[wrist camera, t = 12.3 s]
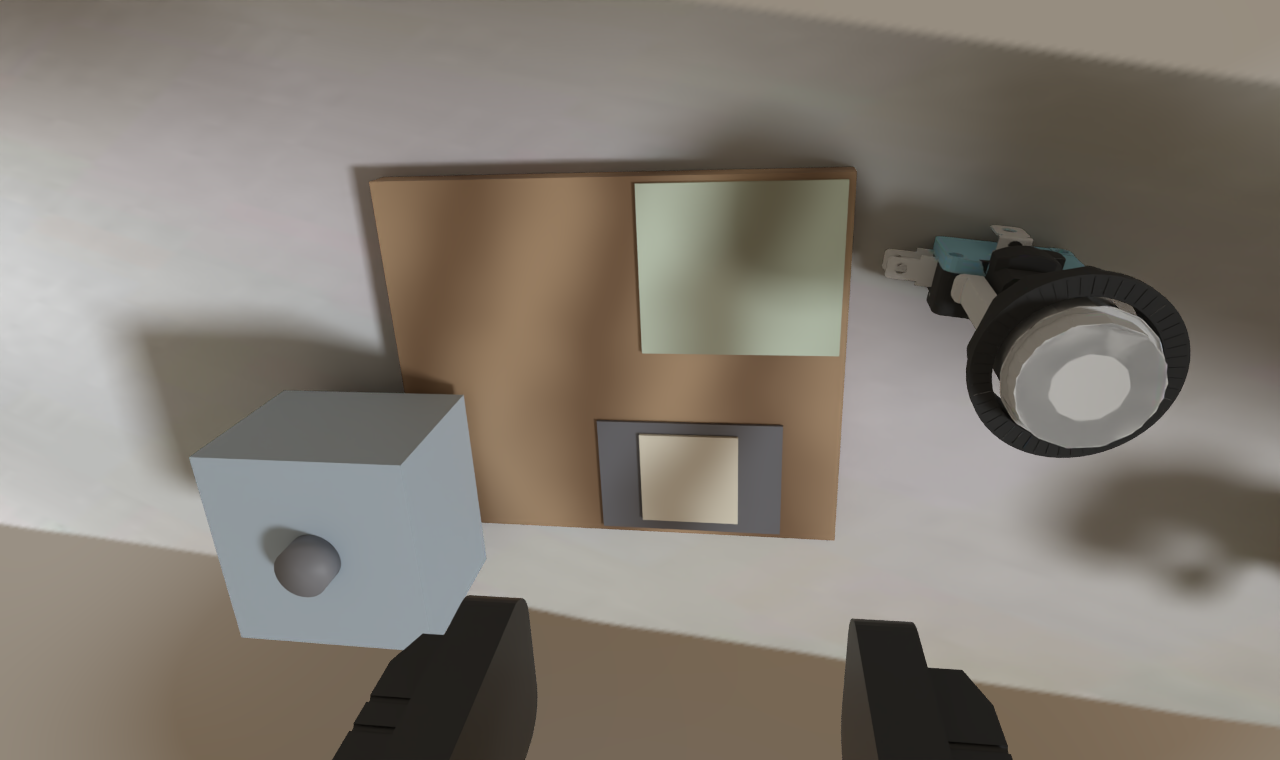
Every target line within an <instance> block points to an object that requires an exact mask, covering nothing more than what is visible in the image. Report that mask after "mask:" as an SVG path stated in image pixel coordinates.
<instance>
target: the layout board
mask: <svg viewBox="0 0 1280 760" xmlns="http://www.w3.org/2000/svg"><path fill="white" fill-rule="evenodd" d="M856 180H857V171H856V169H855V168H854V167H822V168H776V169H730V170H684V171H639V172H593V173H547V174H501V175H455V176H410V177H382V178H379V179H376V180H373V181H370V182H369V185H370V191H371V197H372V203H373V209H374V215H375V221H376V227H377V232H378V238H379V244H380V250H381V256H382V262H383V268H384V274H385V280H386V286H387V291H388V297H389V303H390V309H391V315H392V321H393V327H394V333H395V339H396V344H397V350H398V356H399V362H400V368H401V374H402V380H403V386H404V392H405V393H411V394H452V395H464V401H465V408H466V415H467V423H468V430H469V437H470V444H471V451H472V459H473V466H474V473H475V480H476V487H477V495H478V502H479V509H480V516H481V522H482V523H502V524H522V525H541V526H561V527H581V528H601V529H620V530H640V531H660V532H679V533H699V534H719V535H739V536H758V537H778V538H798V539H818V540H834V539H835V522H836V506H837V490H838V473H839V457H840V441H841V424H842V408H843V392H844V375H845V359H846V343H847V326H848V310H849V294H850V278H851V261H852V245H853V229H854V212H855V196H856Z"/></svg>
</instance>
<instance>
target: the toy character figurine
mask: <svg viewBox="0 0 1280 760" xmlns="http://www.w3.org/2000/svg"><path fill="white" fill-rule="evenodd" d="M990 228H991V229H992V230H993V231H994V232H995V234H996V235H998V236H999V240H998V243H997V242H988V241H980V240H971V239H962V238H953V237H944V236H937V237H936V238H935V242H934V246H933V249H924V248H917V251H916V252H915V251H906V250H897V249H889V248H888V249H887V250H885V254H884V258H883V263H882V268H883V269H884V270H886V271H885V276H886V277H887V278H893V279H901V280H910V281H915V283H914V285H917V286H925V287H927V288H928V290H929V292H928V296H927V302H928V304H929V306H930V309H931V311H932V312H933V313H935V314H938V315H943V316H951V317H959V318H967V319H970V320H971V322H972V324H973V325H974V327H975V329H976V331H975V333H974V335H973V337H972V338H971V340H970V342H969V344H968V346H967V358H968V360H967V367H966V382H967V389H968V393H969V396H970V399H971V402H972V404H973V406H974V408H975V411H976V413H977V414H978V416H979V418H980V419H981V421H982V422H983V423H984V425H985V426H986V427H987V428H988V429H989V430H990V431H991V432H992V433H993V434H994V435H995V436H997V437H998V438H999V439H1000V440H1002V441H1003V442H1005V443H1007V444H1008V445H1010V446H1012V447H1014V448H1016V449H1019V450H1022V451H1024V452H1027V453H1031V454H1035V455H1039V456H1045V457H1056V458H1070V457H1081V456H1087V455H1092V454H1096V453H1100V452H1104V451H1106V450H1109V449H1112V448H1115V447H1117V446H1119V445H1122V444H1124V443H1126V442H1128V441H1130V440H1131V439H1133V438H1135V437H1137V436H1138V435H1140V434H1141V433H1143V432H1144V431H1146V430H1147V429H1148V428H1149V427H1151V426H1152V425H1153V424H1154V423H1155V422H1156V421H1158V420H1159V419H1160V418H1161V417H1162V416H1163V415H1164V413H1165V412H1166V411H1167V410H1168V409H1169V408H1170V406H1171V405H1172V404H1173V402H1174V401H1175V399H1176V398H1177V396H1178V394H1179V392H1180V391H1181V389H1182V386H1183V384H1184V382H1185V379H1186V376H1187V373H1188V369H1189V363H1190V341H1189V336H1188V332H1187V329H1186V326H1185V324H1184V321H1183V320H1182V318H1181V316H1180V314H1179V313H1178V311H1177V310H1176V309H1175V307H1174V306H1173V305H1172V304H1171V303H1170V302H1169V301H1168V300H1167V299H1166V298H1165V297H1164V296H1162V295H1161V294H1160V293H1159V292H1157V291H1156V290H1155V289H1153V288H1152V287H1151V286H1149V285H1147V284H1146V283H1144V282H1142V281H1140V280H1138V279H1135V278H1133V277H1130V276H1127V275H1124V274H1121V273H1116V272H1110V271H1104V270H1101V269H1098V268H1095V267H1092V266H1085V265H1083V264H1082V263H1081V262H1080V261H1079V260H1078V259H1077V258H1076V257H1075V255H1074V254H1073V253H1072V252H1070V251H1067V250H1064V249H1058V248H1041V247H1032V243H1033V239H1032V238H1030V236H1029V235H1028V234H1027V233H1026V232H1025V231H1024V230H1023V229H1021V228H1017V227H1009V226H1000V225H991V227H990ZM1004 230H1008V231H1013V232H1008V231H1004ZM897 255H900V256H902V257H896V256H897ZM899 263H902V264H900V265H898V266H897V264H899ZM896 271H899V272H904V273H901V274H899V273H897V272H896ZM1109 298H1111V299H1115V300H1119V301H1122V302H1124V303H1127V304H1129V305H1131V306H1133V308H1134V310H1135V311H1136V314H1137V316H1136V315H1133V314H1131V313H1128V312H1126V311H1123V310H1120V309H1119V308H1118V307H1117V306H1116V305H1115V304H1114V303H1113V302H1112V301H1111V300H1110V299H1109ZM992 369H994V371H995V373H996V375H997V377H998V379H999V381H1000V396H1001V398H999V397H998V396H997V395H996V394H995V393H994V392H993V388H992Z"/></svg>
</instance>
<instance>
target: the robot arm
mask: <svg viewBox="0 0 1280 760" xmlns="http://www.w3.org/2000/svg"><path fill="white" fill-rule="evenodd" d="M536 712H537V683H536V674H535V665H534V656H533V647H532V638H531V629H530V620H529V612H528V606H527V603H526V601H525V600H524V599H523V598H508V597H490V596H473V595H469V596H466V597H465V598H464V599H463V601H462V602H461V604H460V606H459V608H458V610H457V611H456V613H455V615H454V617H453V619H452V621H451V623H450V625H449V627H448V629H447V631H446V632H445V634H444V635H439V634H424V633H423V634H421V635H420V636H419V637H418V638H417V639H416V640H414V641H413V642H412V643H411V644H410V645H409V646H407V647H406V648H405V649H404V650H403V651H402V652H401V653H399V654H398V655H397V656H396V657H395V658H393V659H392V660H391V661H390V663H389V664H388V666H387V668H386V669H385V671H384V673H383V675H382V676H381V678H380V680H379V681H378V683H377V685H376V687H375V688H374V690H373V691H372V693H371V697H370V701H369V702H366V703H365V705H364V707H363V709H362V710H361V712H360V714H359V715H358V717H357V719H356V720H355V722H354V728H353V730H352V731H349V732H348V734H347V736H346V738H345V739H344V741H343V742H342V744H341V746H340V748H339V749H338V751H337V753H336V754H335V756H334V758H333V759H332V760H525V758H526V755H527V752H528V749H529V746H530V743H531V739H532V736H533V731H534V726H535V720H536ZM841 717H842V718H841V744H842V760H1012V756H1011V754H1008V745H1007V743H1006V740H1005V737H1004V734H1003V731H1002V729H1001V726H1000V723H999V720H998V717H997V715H996V712H995V709H994V706H993V705H992V704H991V702H990V701H989V700H988V699H987V698H986V697H985V695H984V694H983V693H982V692H981V691H980V690H979V689H978V687H977V686H976V685H975V684H974V683H973V682H972V681H971V679H970V678H969V677H968V676H967V675H966V674H965V673H964V671H963V670H954V669H939V668H928V667H927V664H926V660H925V656H924V653H923V649H922V645H921V642H920V638H919V635H918V631H917V628H916V626H915V624H914V623H913V622H901V621H884V620H867V619H851V621H850V624H849V632H848V643H847V655H846V667H845V678H844V691H843V702H842V716H841Z"/></svg>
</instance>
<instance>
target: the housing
mask: <svg viewBox="0 0 1280 760" xmlns="http://www.w3.org/2000/svg"><path fill="white" fill-rule="evenodd" d="M189 459H190V463H191V466H192V469H193V473H194V476H195V480H196V483H197V486H198V490H199V493H200V497H201V500H202V503H203V507H204V510H205V514H206V517H207V521H208V524H209V527H210V531H211V534H212V538H213V541H214V544H215V548H216V551H217V555H218V558H219V561H220V565H221V568H222V572H223V575H224V579H225V582H226V585H227V589H228V592H229V596H230V599H231V602H232V606H233V609H234V612H235V616H236V619H237V623H238V626H239V630H240V633H241V636H242V637H245V638H258V639H271V640H284V641H297V642H310V643H322V644H334V645H347V646H360V647H373V648H385V649H398V650H404V649H405V648H406V647H407V646H409V645H410V644H411V643H412V642H413V641H414V640H416V639H417V638H418V637H419V636H420V635H421V634H423V633H424V634H439V635H444V633H445V632H446V630H447V628H448V626H449V625H450V623H451V621H452V619H453V617H454V615H455V613H456V611H457V610H458V608H459V606H460V604H461V602H462V601H463V599H464V598H465V596H466V594H467V592H468V591H469V589H470V587H471V585H472V584H473V582H474V580H475V578H476V576H477V575H478V573H479V571H480V569H481V567H482V566H483V564H484V562H485V560H486V552H485V545H484V538H483V531H482V524H481V516H480V509H479V502H478V495H477V487H476V480H475V473H474V466H473V459H472V451H471V444H470V437H469V430H468V423H467V415H466V408H465V401H464V395H452V394H411V393H369V392H328V391H286V390H284V391H283V392H281V393H280V394H278V395H277V396H276V397H274V398H273V399H271V400H270V401H268V402H267V403H266V404H264V405H263V406H261V407H260V408H258V409H257V410H256V411H254V412H253V413H251V414H250V415H248V416H247V417H246V418H244V419H243V420H241V421H240V422H238V423H237V424H236V425H234V426H233V427H231V428H230V429H228V430H227V431H226V432H224V433H223V434H221V435H220V436H218V437H217V438H216V439H214V440H213V441H211V442H210V443H208V444H207V445H206V446H204V447H203V448H201V449H200V450H198V451H197V452H196V453H194V454H193V455H191V456H190V457H189Z"/></svg>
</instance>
